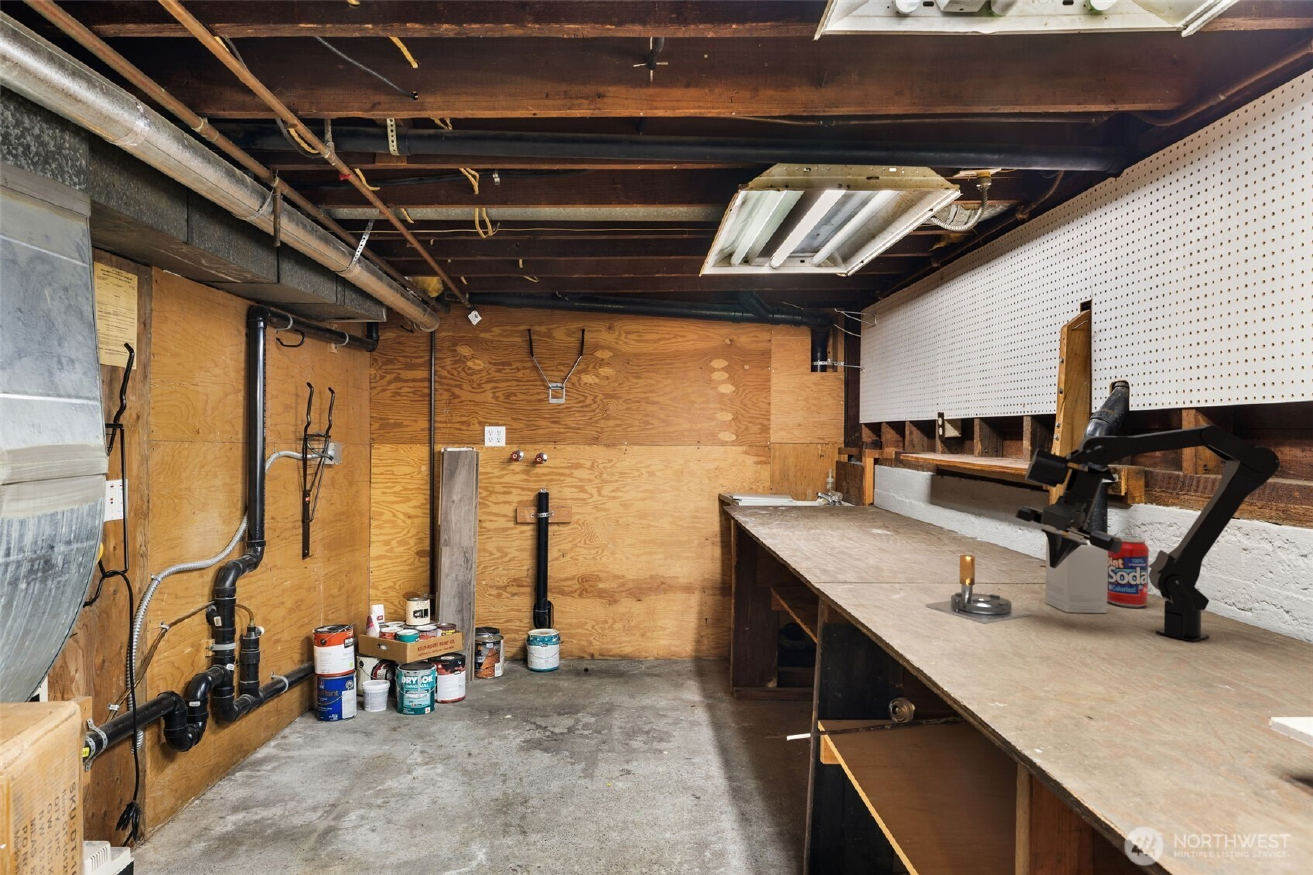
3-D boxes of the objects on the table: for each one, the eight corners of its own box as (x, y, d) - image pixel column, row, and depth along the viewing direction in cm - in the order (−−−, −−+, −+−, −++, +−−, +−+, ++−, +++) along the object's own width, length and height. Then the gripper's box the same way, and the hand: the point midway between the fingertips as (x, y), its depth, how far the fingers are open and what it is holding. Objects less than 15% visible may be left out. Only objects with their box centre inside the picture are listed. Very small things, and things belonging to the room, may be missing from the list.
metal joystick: (1023, 609, 150) (1024, 556, 150) (988, 617, 144) (989, 561, 144) (972, 597, 161) (973, 547, 160) (937, 604, 154) (938, 552, 154)
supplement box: (1108, 614, 150) (1110, 544, 150) (1066, 613, 151) (1068, 544, 150) (1083, 603, 160) (1084, 538, 159) (1044, 602, 160) (1045, 537, 159)
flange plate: (971, 599, 162) (971, 586, 162) (1031, 615, 149) (1032, 600, 149) (925, 606, 155) (925, 592, 155) (984, 623, 142) (984, 608, 142)
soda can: (1141, 602, 161) (1143, 537, 161) (1152, 610, 154) (1153, 542, 154) (1102, 599, 164) (1103, 535, 164) (1110, 606, 157) (1111, 540, 156)
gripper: (1016, 476, 143) (990, 547, 145) (1113, 508, 129) (1084, 586, 131) (1040, 482, 150) (1015, 550, 152) (1135, 513, 136) (1107, 587, 137)
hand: (1052, 567), depth 143 cm, fingers closed
